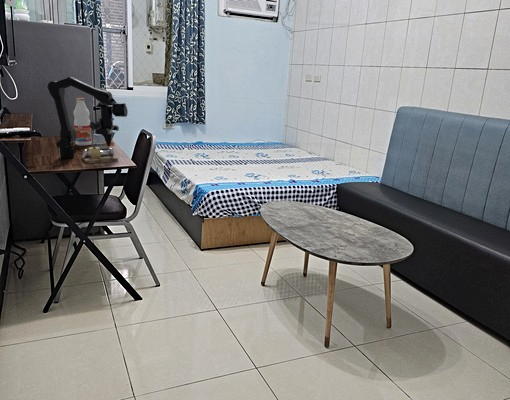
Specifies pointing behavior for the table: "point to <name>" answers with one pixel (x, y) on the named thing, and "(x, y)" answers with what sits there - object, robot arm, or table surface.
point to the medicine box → (99, 140)
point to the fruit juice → (82, 123)
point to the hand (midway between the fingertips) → (108, 146)
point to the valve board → (100, 159)
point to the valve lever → (102, 144)
